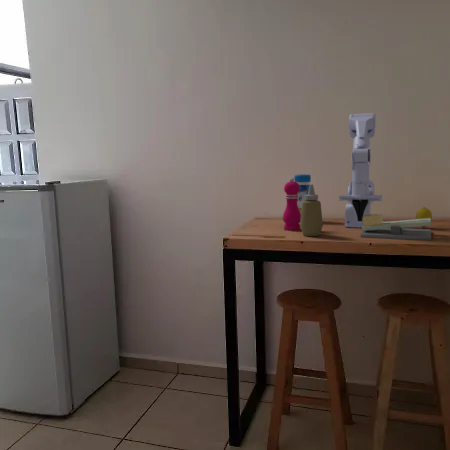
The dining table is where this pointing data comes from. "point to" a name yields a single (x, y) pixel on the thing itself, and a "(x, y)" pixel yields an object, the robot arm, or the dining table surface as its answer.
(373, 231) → the pivot stand
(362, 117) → the robot arm
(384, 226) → the beam
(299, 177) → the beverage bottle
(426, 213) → the lemon
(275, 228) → the dining table surface
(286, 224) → the pepper mill
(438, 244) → the dining table surface
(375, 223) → the tan block
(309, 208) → the squeeze bottle
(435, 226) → the dining table surface
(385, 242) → the dining table surface
